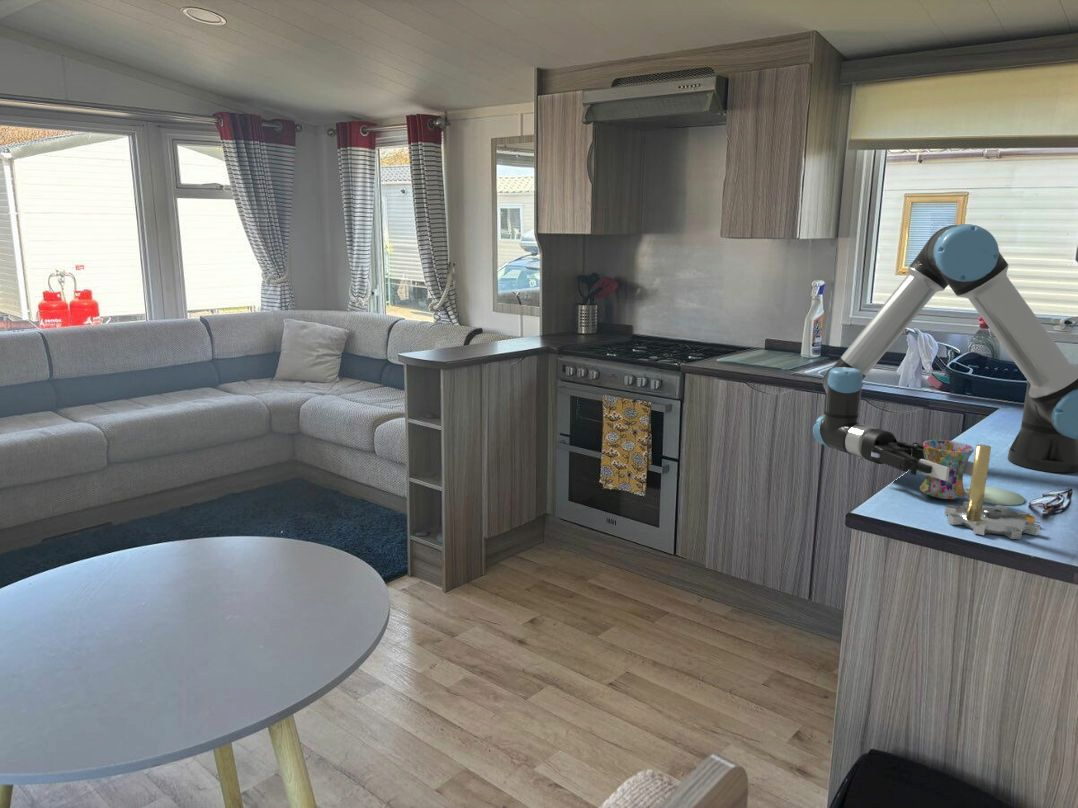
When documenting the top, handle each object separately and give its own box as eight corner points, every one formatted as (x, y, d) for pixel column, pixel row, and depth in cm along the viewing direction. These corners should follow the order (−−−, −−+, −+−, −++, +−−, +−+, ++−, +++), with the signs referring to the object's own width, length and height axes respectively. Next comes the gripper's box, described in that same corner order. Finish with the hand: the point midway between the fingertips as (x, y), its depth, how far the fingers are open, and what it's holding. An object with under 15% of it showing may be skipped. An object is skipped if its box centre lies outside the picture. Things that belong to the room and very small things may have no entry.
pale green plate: (987, 485, 174) (987, 483, 174) (1036, 501, 164) (1036, 499, 164) (952, 491, 170) (952, 489, 169) (1000, 508, 160) (1000, 506, 160)
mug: (977, 501, 162) (984, 451, 159) (935, 503, 160) (941, 452, 158) (940, 483, 173) (946, 436, 171) (900, 484, 172) (906, 436, 170)
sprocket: (981, 505, 160) (992, 430, 157) (1055, 531, 147) (1069, 450, 144) (927, 515, 154) (938, 437, 151) (1000, 543, 141) (1013, 458, 137)
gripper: (902, 455, 186) (992, 483, 166) (836, 464, 178) (923, 495, 158) (905, 424, 185) (997, 449, 164) (840, 432, 176) (927, 459, 156)
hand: (960, 471), depth 161 cm, fingers closed on mug, 7 cm apart
